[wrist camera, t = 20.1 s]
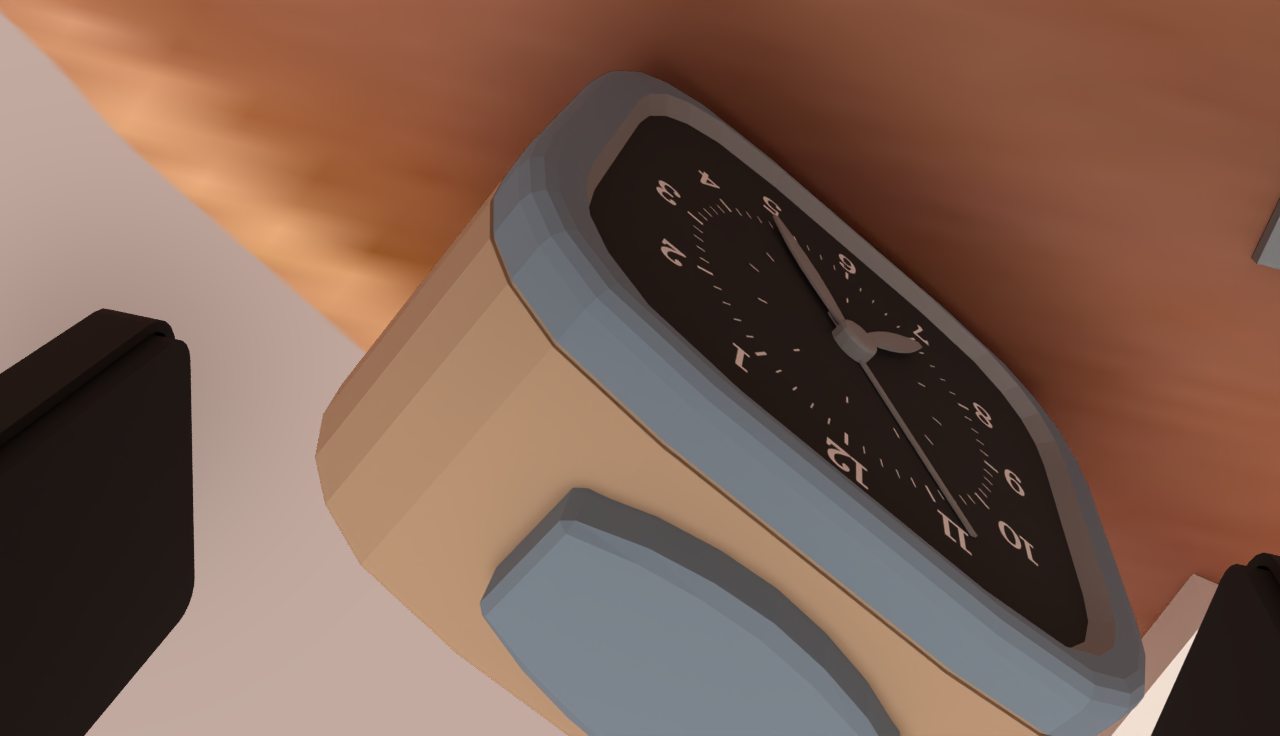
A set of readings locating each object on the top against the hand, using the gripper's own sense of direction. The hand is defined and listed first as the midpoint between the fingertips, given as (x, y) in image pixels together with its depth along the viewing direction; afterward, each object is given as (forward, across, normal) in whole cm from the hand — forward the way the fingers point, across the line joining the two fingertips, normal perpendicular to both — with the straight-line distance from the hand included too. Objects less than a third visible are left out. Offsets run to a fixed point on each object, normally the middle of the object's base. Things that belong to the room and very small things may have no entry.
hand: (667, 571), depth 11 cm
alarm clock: (+33, -1, +11) cm, 35 cm away
